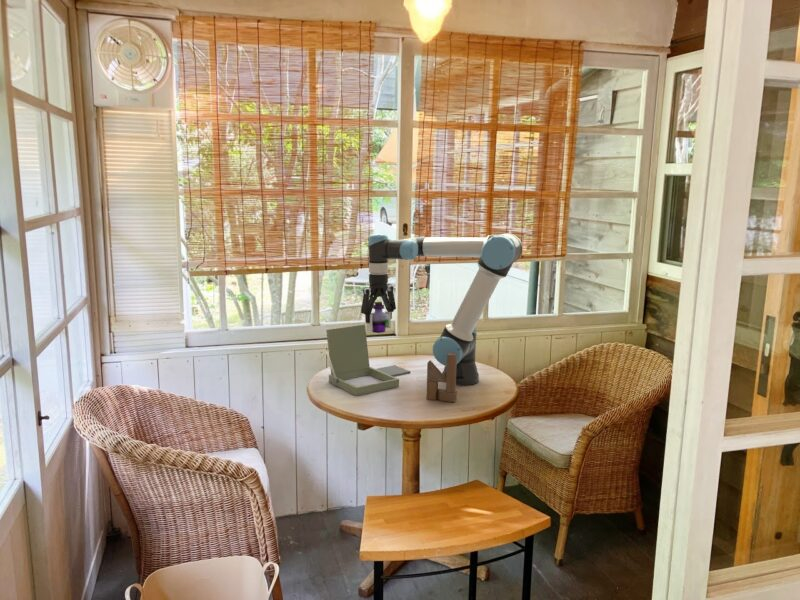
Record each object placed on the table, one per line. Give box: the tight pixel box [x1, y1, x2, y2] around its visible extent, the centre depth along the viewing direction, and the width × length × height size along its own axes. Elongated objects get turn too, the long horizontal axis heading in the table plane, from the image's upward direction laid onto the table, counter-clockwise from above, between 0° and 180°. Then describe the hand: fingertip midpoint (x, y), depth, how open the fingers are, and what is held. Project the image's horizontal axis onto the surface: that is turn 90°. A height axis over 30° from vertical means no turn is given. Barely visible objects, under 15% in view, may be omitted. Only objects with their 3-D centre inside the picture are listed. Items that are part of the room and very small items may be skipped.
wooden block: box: [426, 353, 458, 403], centre depth 230 cm, size 4×11×18 cm, turn 71°
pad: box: [376, 364, 411, 377], centre depth 265 cm, size 11×11×1 cm
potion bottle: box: [370, 301, 389, 334], centre depth 251 cm, size 9×9×12 cm
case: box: [324, 324, 400, 397], centre depth 247 cm, size 24×21×21 cm
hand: (378, 329), depth 252 cm, fingers closed on potion bottle, 9 cm apart
